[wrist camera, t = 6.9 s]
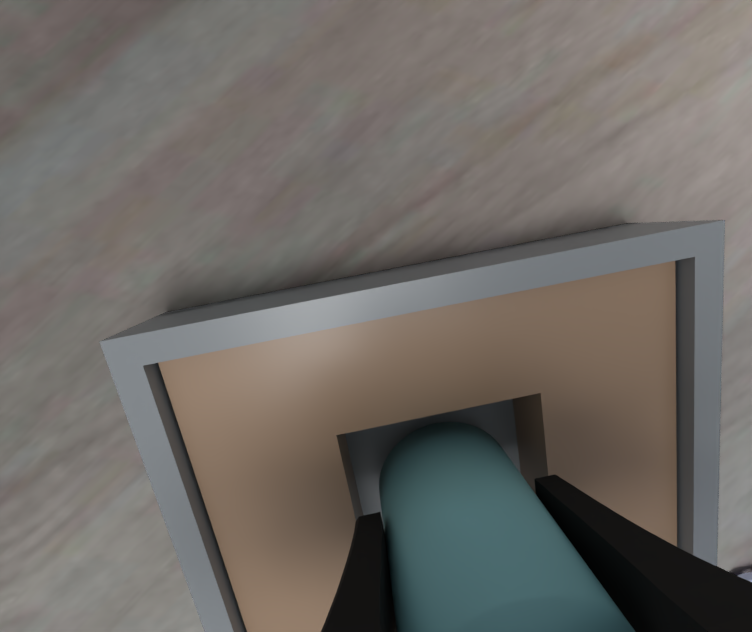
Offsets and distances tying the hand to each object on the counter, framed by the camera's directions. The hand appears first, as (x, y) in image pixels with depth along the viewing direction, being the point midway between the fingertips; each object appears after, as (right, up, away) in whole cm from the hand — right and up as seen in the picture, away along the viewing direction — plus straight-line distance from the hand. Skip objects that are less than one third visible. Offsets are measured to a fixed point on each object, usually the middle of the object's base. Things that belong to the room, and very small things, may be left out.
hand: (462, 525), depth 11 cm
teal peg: (0, 0, +2) cm, 2 cm away
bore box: (0, +1, +4) cm, 4 cm away
